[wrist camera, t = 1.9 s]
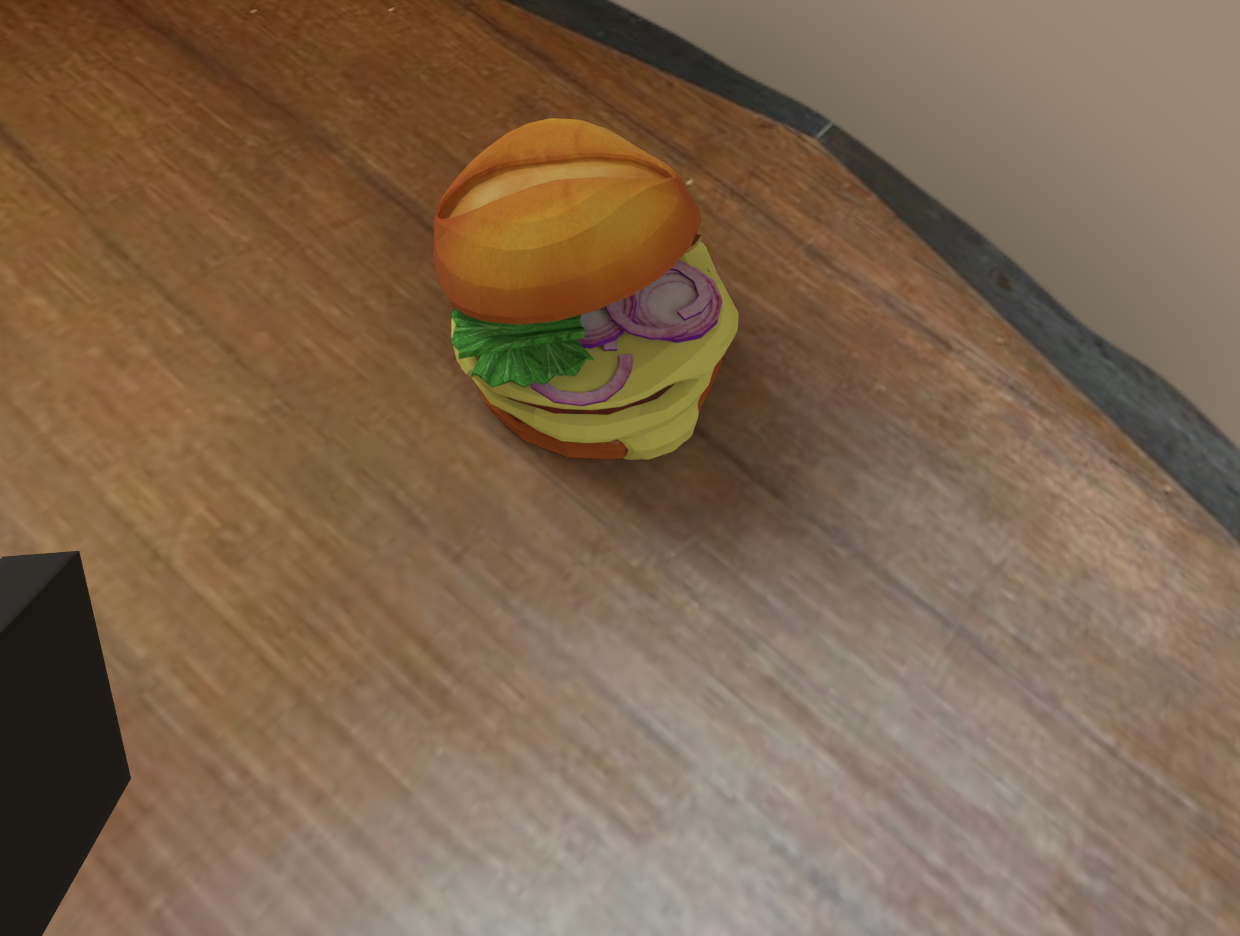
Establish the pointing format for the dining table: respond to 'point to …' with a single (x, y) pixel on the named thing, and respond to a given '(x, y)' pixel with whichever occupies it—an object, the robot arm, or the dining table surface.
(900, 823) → the dining table surface
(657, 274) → the cheeseburger
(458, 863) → the dining table surface
